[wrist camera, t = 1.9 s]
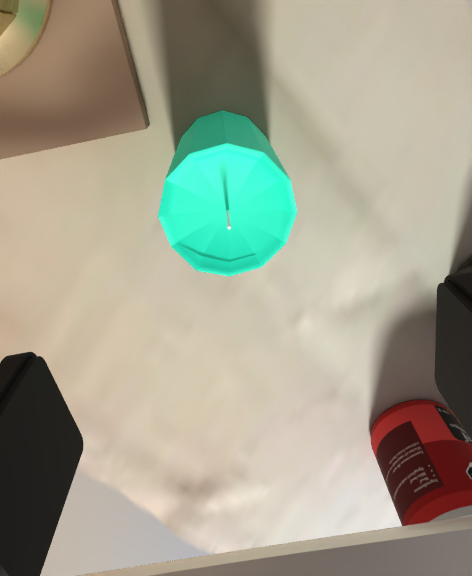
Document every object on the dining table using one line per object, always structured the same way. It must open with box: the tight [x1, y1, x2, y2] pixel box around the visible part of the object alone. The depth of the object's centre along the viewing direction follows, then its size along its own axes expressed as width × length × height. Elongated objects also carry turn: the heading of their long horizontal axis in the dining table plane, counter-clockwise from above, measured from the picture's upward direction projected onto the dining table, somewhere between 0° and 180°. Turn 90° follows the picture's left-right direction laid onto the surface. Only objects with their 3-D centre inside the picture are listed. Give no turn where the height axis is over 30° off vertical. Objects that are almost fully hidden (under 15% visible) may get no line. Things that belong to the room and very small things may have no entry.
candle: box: [158, 110, 297, 276], centre depth 23 cm, size 6×6×12 cm
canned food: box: [371, 400, 472, 526], centre depth 36 cm, size 8×8×11 cm
